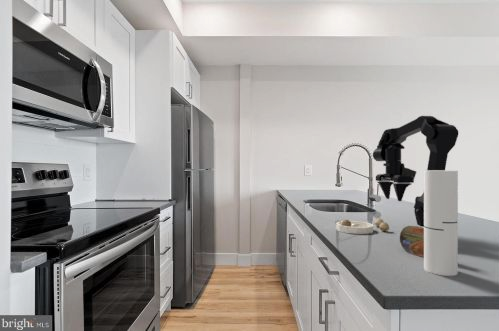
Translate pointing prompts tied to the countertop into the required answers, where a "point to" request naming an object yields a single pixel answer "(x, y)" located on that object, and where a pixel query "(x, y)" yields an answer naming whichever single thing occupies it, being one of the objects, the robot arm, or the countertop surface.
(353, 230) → the groove tray
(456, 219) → the cylindrical container
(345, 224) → the walnut bead
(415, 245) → the tin
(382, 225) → the oak bead
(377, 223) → the maple bead
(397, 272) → the countertop surface
